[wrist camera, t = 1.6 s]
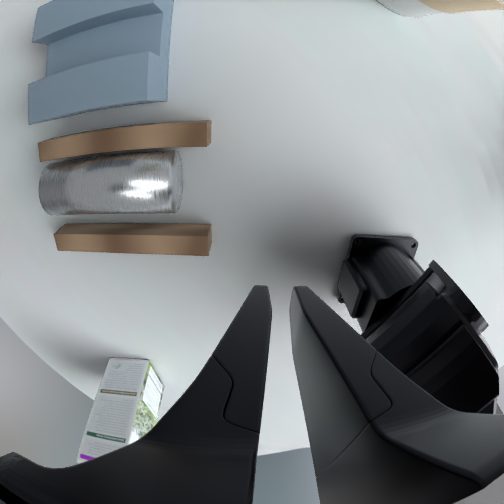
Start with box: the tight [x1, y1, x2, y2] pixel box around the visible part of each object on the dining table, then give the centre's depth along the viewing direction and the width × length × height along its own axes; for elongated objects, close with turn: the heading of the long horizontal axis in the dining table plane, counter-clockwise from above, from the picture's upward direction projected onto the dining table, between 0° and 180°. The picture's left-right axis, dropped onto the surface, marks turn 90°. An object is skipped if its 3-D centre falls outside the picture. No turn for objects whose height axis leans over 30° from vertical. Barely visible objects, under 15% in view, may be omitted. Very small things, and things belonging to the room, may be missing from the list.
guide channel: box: [38, 121, 211, 256], centre depth 18 cm, size 13×9×2 cm
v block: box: [28, 0, 174, 125], centre depth 12 cm, size 9×9×4 cm
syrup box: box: [77, 358, 164, 463], centre depth 23 cm, size 6×6×14 cm
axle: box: [39, 151, 183, 215], centre depth 17 cm, size 10×4×4 cm, turn 88°
